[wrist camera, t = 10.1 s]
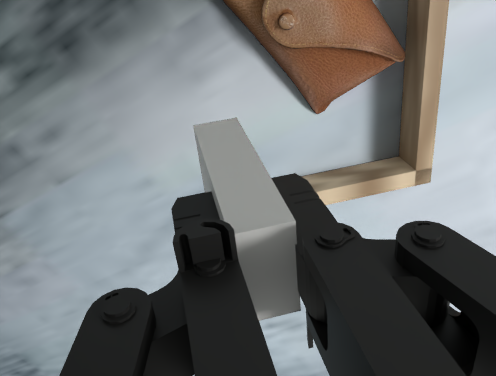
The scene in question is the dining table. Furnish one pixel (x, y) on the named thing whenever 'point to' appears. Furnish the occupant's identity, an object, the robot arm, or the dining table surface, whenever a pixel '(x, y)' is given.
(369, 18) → the sunglasses case
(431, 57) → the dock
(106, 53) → the dining table surface
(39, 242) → the dining table surface
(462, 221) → the dining table surface
